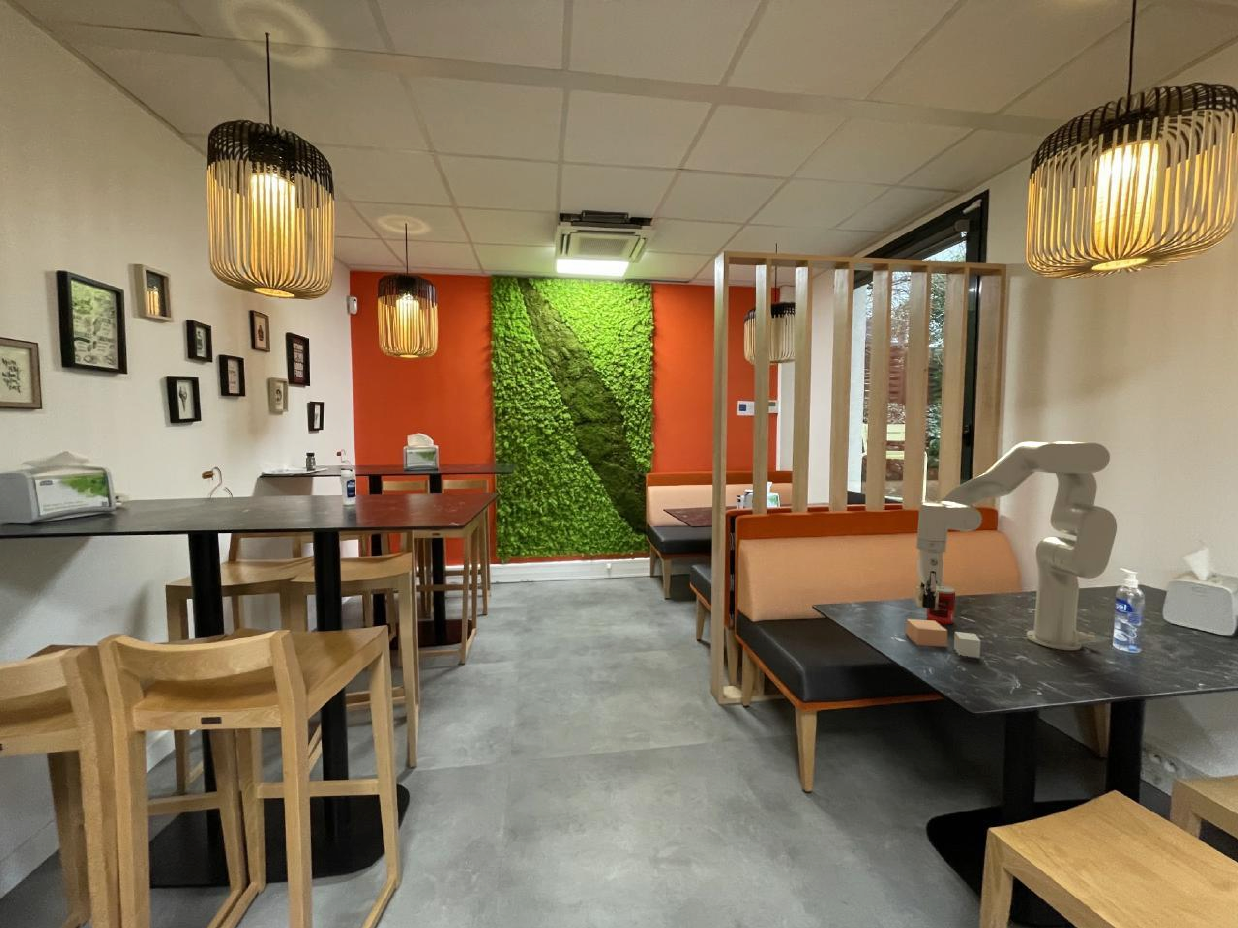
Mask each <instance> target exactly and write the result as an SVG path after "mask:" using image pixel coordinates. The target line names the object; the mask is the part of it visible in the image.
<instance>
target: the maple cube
mask: <svg viewBox="0 0 1238 928" xmlns="http://www.w3.org/2000/svg"><path fill="white" fill-rule="evenodd" d="M924 590H925V587H920V586H918V585H916V586H915V599H914V603H915V604H916V606H917V608H921V609H924V608H923V607H922V602H923V594H924ZM927 590H928V587H927ZM938 600H939V593H938V591H937V590H936V602H935V610H938ZM927 609H928V608H926V610H927Z"/></svg>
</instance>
